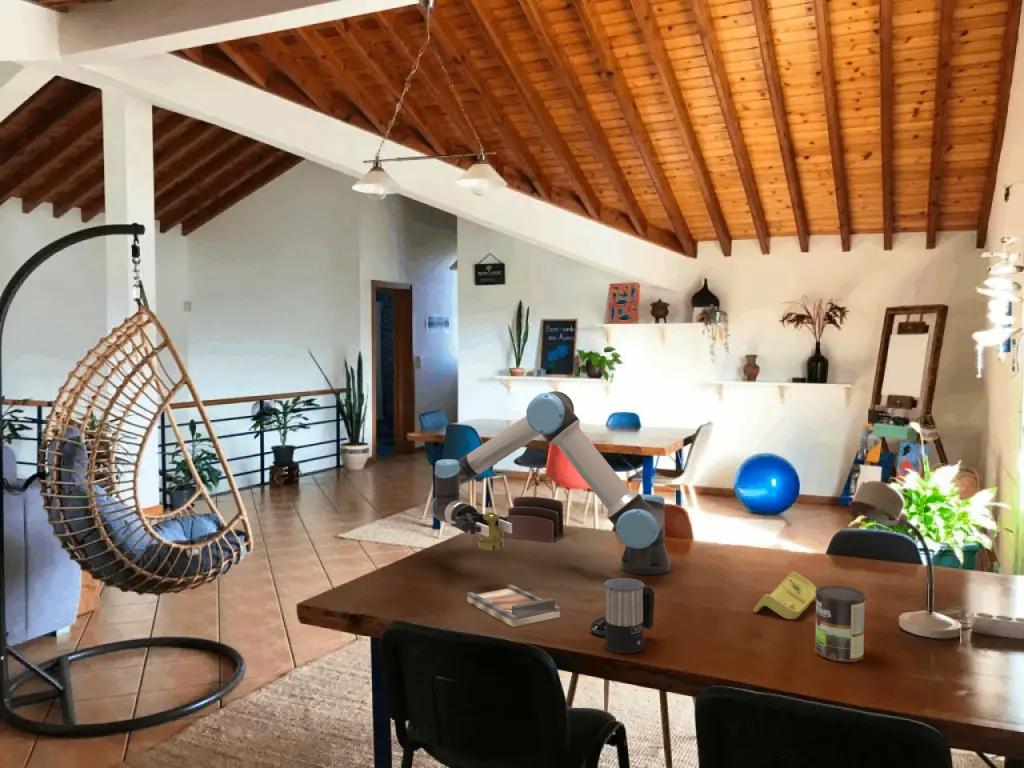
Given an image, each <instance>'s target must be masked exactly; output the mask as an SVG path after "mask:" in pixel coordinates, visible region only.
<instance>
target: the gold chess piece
mask: <svg viewBox="0 0 1024 768" xmlns="http://www.w3.org/2000/svg"><path fill="white" fill-rule="evenodd" d="M484 514H485V515H483V516H482V518H483V519H484V520H485V521H486V526H489V536H488V537H486V536H484V535H481V534H479V533H477V534H478V538H479V539H478V548H479V549H481V550H483V551H484V550H485V551H498V550H501V549H503V548H504V547H505V539H504V538H503V536H504V531H503V530H501V529H499V527H498V526H497V525H496V521H497V520H498V519H499V518H500V516H501V515H499V514H497V513H495V512H493V511H490V512H487V513H484Z"/></svg>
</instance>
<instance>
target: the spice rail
mask: <svg viewBox="0 0 1024 768" xmlns="http://www.w3.org/2000/svg"><path fill="white" fill-rule="evenodd" d="M506 585H507V588H504V589H498V590H493V591H492V590H491V591H487V592H482V593H474V592H472V591H469V592H466V602H467V601H468V602H467V603H469V604H470V605H472V604H473V605H472V606H474V605H475V606H474V607H476V608H478V609H480V610H481V609H482V611H483V612H485V613H487V614H489V615H491V616H492V617H495V618H496V619H497V620H499V621H501V622H503V623H505V624H507V625H508V626H510V627H512V628H516V627H521V626H525V625H529V624H530V625H531V624H534V623H538V622H539V623H541V622H543V621H547V620H552V619H558V618H560V617H561V607H560V606H558V605H556V600H555V599H554V598H551V597H550V598H549V597H548V598H541V597H540V596H537V595H534V594H532V593H530V592H529V591H526V590H523V589H522V588H520V587H517V586H515V585H513V584H506Z"/></svg>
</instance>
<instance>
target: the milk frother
mask: <svg viewBox="0 0 1024 768" xmlns="http://www.w3.org/2000/svg"><path fill="white" fill-rule="evenodd" d="M603 584H604V586H605V616H601V617H599V618H597V619H595V620H593V622H591V624H590V631H591V633H592V634H594V635H596V636H599V637H605V642H604V648H606V649H607V650H608V651H611V652H614V653H617V652H618V654H619V653H620V654H633V652H635V653H638V651H639V652H641V651H643V650H644V649H645V647H646V645H645V641H644V628H645V629H647V630H651V629H652V628H653V627H654V612H655V611H654V610H655V592H654V590H653V588H652V587H651V586H649V585H648V584H646V583H645V584H644V582H643V581H642V580H639V579H634V578H629V577H619V578H618V577H617V578H612V579H608V580H606V581H605V582H604V583H603ZM604 629H605V630H604ZM642 649H643V650H642Z"/></svg>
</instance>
